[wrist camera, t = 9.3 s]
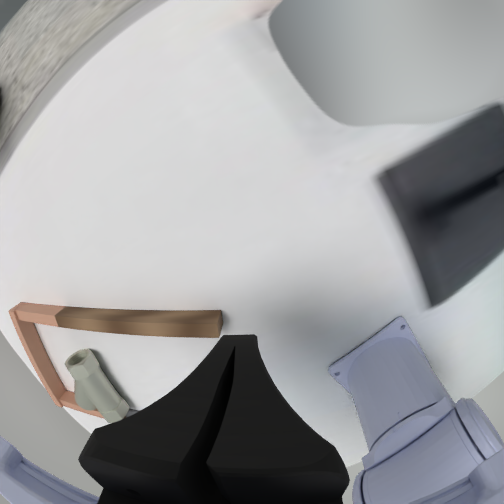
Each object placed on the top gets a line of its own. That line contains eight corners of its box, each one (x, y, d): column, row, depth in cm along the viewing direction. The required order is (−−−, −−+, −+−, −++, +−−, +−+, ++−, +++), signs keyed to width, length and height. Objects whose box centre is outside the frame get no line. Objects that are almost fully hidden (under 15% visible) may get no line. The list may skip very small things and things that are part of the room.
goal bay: (65, 306, 21) (52, 317, 19) (111, 407, 26) (103, 421, 23) (20, 302, 22) (8, 310, 20) (64, 394, 26) (56, 405, 24)
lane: (221, 310, 20) (216, 323, 19) (244, 449, 26) (243, 462, 24) (65, 306, 21) (54, 315, 20) (128, 435, 27) (123, 445, 25)
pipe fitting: (96, 397, 26) (133, 402, 25) (82, 417, 23) (119, 425, 21) (62, 348, 24) (97, 347, 23) (43, 366, 20) (76, 369, 19)
